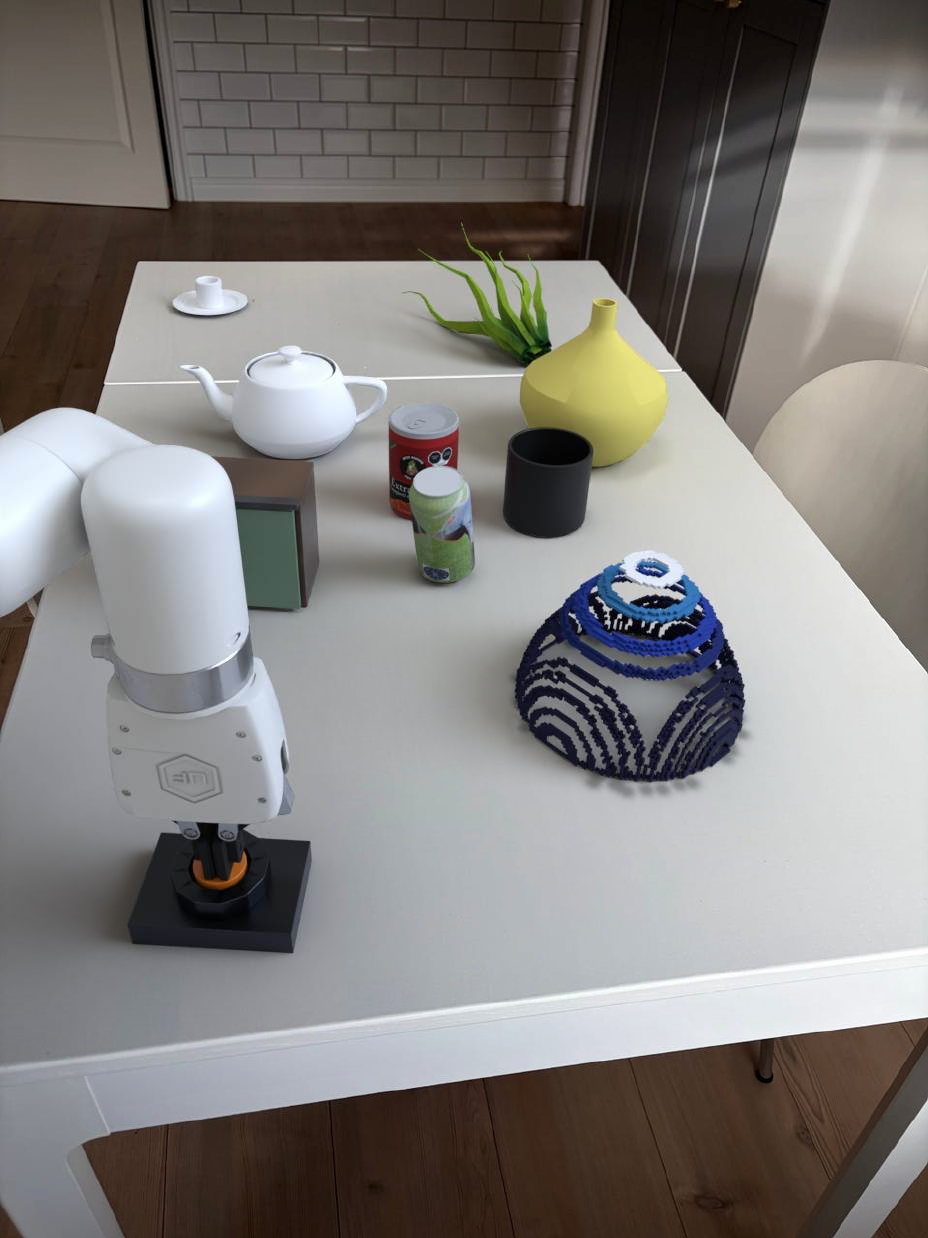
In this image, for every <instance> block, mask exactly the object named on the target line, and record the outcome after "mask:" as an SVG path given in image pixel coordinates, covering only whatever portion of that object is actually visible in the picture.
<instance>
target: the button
mask: <svg viewBox="0 0 928 1238" xmlns="http://www.w3.org/2000/svg"><path fill="white" fill-rule="evenodd" d="M193 871H194V876H195V881H196V884H198V885H199V886H201V887H203V888H204V889H216V890H222V889H225V888H227V887H230V886H233V885H236V884H238V883H239V882H240V881H241V880H242V879H243V878H244V877H245V876H246V875H247V874H248V866H247V859H246V855H245V853H244V852H243V856H242V860H241V862H240V863H233V867H232V871H231V874H230V878H229V880H228V881H225V880H220V878H218V877H217V876H216V878H213V880H207V879H204V875H203V870H202V864H201V861H197V860H194V863H193Z"/></svg>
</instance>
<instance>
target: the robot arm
mask: <svg viewBox="0 0 928 1238" xmlns="http://www.w3.org/2000/svg"><path fill="white" fill-rule="evenodd" d="M211 456H212V455H210V454H207V453H205V452H203V451H201V450H198V449H195V448H192V447H188V446H184V445H175V444H155V443H153V442H151V441H149V440H146V439H145V438H142V437H141V436H138V435H136V434H134V433H133V432H131V431H129V430H128V429H125V428H123V427H121V426H119V425H118V424H116V423H114V422H112V421H110V420H108V419H106V418H104V417H102V416H99V415H97V414H95V413H92V412H91V411H87V410H84V409H80V408H75V407H57V408H50V409H47V410H45V411H42V412H40V413H38V414H35V415H34V416H32V417H30V418H28V419H26V420H24V421H23V422H21V423H20V424H18V425H16V426H15V427H13V428H11V429H9V430H8V431H6V432H4V433H3V434H1V435H0V618H2V617H4V616H7V615H9V614H10V613H12V612H14V611H15V610H16V609H19V608H20V607H22V606H23V605H24V604H25V603H27V601H29V600H30V599H32V598H33V597H34V596H36V595H37V594H38V593H39V592H40V591H42V590H43V589H44V588H46V587H47V586H48V585H49V584H51V583H52V582H54V581H55V580H56V579H57V578H58V577H60V576H61V575H62V574H63V573H65V572H66V571H67V570H69V569H70V568H71V567H72V566H73V565H75V564H76V563H77V562H78V561H80V560H81V559H83V558H85V557H88V556H90V555H91V559H92V563H93V568H94V572H95V576H96V580H97V581H96V582H97V585H98V589H99V590H98V591H99V594H100V598H101V602H102V607H103V612H104V616H105V620H106V625H107V629H108V633H106V635H102V634H101V635H100V634H95V635H93V637H92V638H91V641H90V654H91V657H92V658H94V659H104V660H105V661H106V662H110V663H111V664H112V665H113V670H114V673H113V674H112V676H111V677H110V678H109V680H108V683H107V688H106V689H107V691H106V729H107V730H106V731H107V733H106V734H107V745H108V746H107V747H108V756H109V764H110V770H111V777H112V778H111V779H112V783H113V787H114V791H115V796H116V800H117V802H118V804H119V806H120V808H121V809H122V810H123V811H124V812H126V813H127V814H129V815H131V816H134V817H137V818H141V819H146V820H147V819H148V820H156V821H157V820H160V821H171V822H173V823H174V824H175V825H178V828H179V830H180V832H181V834H182V835H183V836H184V837H185V838H187V839H191V841H192V846H193V851H194V856H195V860H197V861H201V864H202V870H203V875H204V879H207V880H213V878H216V876H217V877H218V878H220V880H225V881H228V880H229V878H230V874H231V871H232V867H233V863H240V862H241V860H242V856H243V852H244V839H243V832H242V829H244V830H245V829H246V828H248V827H249V826H250V825H257V824H264V823H266V822H267V823H268V822H270V821H272V820H274V819H275V818H277V816H286V815H289V814H291V812H292V809H293V806H294V801H295V798H296V797H295V793H294V791H293V788H292V787H291V784H290V782H289V780H288V778H287V775H286V774H287V773H288V772H289V768H290V754H289V753H290V752H289V746H288V745H289V744H288V740H287V734H286V728H285V724H284V719H283V716H282V711H281V708H280V704H279V700H278V697H277V694H276V691H275V688H274V685H273V683H272V680H271V678H270V675H269V673H268V671H267V669H266V667H265V664H264V662H263V661H262V658H261V659H260V657H257V656H254V653H253V652H254V651H253V644H252V635H251V627H250V620H249V610H248V606H247V601H246V593H245V585H244V576H243V568H242V560H241V552H240V543H239V535H238V527H237V518H236V510H235V502H234V496H233V490H232V485H231V482H230V480H229V477H228V475H227V473H226V472H225V470H224V468H223V467H222V466H221V465H220V464H219V463H218V462H217V461H216V460H215V459H213V458H212V457H211Z"/></svg>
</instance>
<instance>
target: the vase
mask: <svg viewBox="0 0 928 1238" xmlns="http://www.w3.org/2000/svg"><path fill="white" fill-rule="evenodd" d="M591 305H592V306H591V312H590V321H589V325H588V326H587V327H586V328H585V329H584V330H583V331H582V332H581V333H579V334H577V335H576V336H575V337H573V338H571V339H570V340H568V341H567V342H564V343H563V344H562V345H560V346H558V347H556V348H554V349H552V351H551V352H549V353H547V354H545V355H543V356H542V357H540V358H538V359H536V360H534V361H533V362H532V363H531V364H530V365H529V366H528V365H527V367H526V369H525V370H524V373H523V374H522V376H521V380H520V386H519V400H518V401H519V404H520V407H521V411H522V413H523V416H524V419H525V422H526V425H527V427H528V429H530V428H537V427H552V428H560V429H565V430H569V431H572V432H575V433H577V434H579V435H581V436H583V437H585V438H586V439H587V440H588V441H589V442H590V443H591V444H592V447H593V460H592V467H591V468H599V467H600V468H601V467H606V466H611V465H614V464H617V463H620V462H621V461H625V460H627V459H629V458H630V457H632V456H633V455H634V454H636V453H637V452H638V451H640V449H642V448H643V447H644V446H645V445H646V444H648V443H649V441H650V440H651V438H653V436H654V434H655V433H656V431H657V429H658V428H659V426H660V425H661V423H662V422H663V420H664V418H665V417H666V413H667V408H668V403H669V392H668V391H669V390H668V386H667V382H666V379H665V377H664V376H663V375H662V373H661V372H660V371H659V370H658V369H656V368H655V367H654V366H653V365H652V364H651V363H649V362H648V360H646V359H645V358H644V357H643V356H641V355H640V354H639V353H638V352H637V351H636V350H635V349H634V348H633V347H632V346H631V345H630V344H629V343H628V342H627V341H626V340H625V339H623V338H622V337H621V335H620V333H619V332H618V330H617V329H616V319H617V312H618V305H619V303H618V301H617V300H615V299H612V298H607V297H598V298H595V299H593V300H592V304H591Z"/></svg>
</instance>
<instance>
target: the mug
mask: <svg viewBox="0 0 928 1238" xmlns="http://www.w3.org/2000/svg"><path fill="white" fill-rule="evenodd" d="M506 449H507V450H506V463H505V476H504V491H503V502H502V503H503V505H502V515H503V518H504V520H505V521H506V523H507V524H508V525H509V526H511V527H512V528H513V529H514V530H516V531H518V532H521V533H523V534H526V535H529V536H532V537H539V538H557V537H558V538H559V537H564V536H568V535H570V534H572V533H575V532H576V531H577V530H579V529H580V528H581V527H582V525H583V523H584V521H585V519H586V511H587V505H588V497H589V489H590V482H591V475H592V473H591V472H592V468H593V467H592V460H593V447H592V444H591V443H590V442H589V441H588V440H587V439H586V438H585V437H583V436H581V435H579V434H577V433H575V432H572V431H569V430H565V429H560V428H552V427H537V428H530V429H529V428H525V429H522V430H520V431H517V432H515V433H514V434H513V435H512V436H511V437H510V438H509V439H508V442H507V448H506Z"/></svg>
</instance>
